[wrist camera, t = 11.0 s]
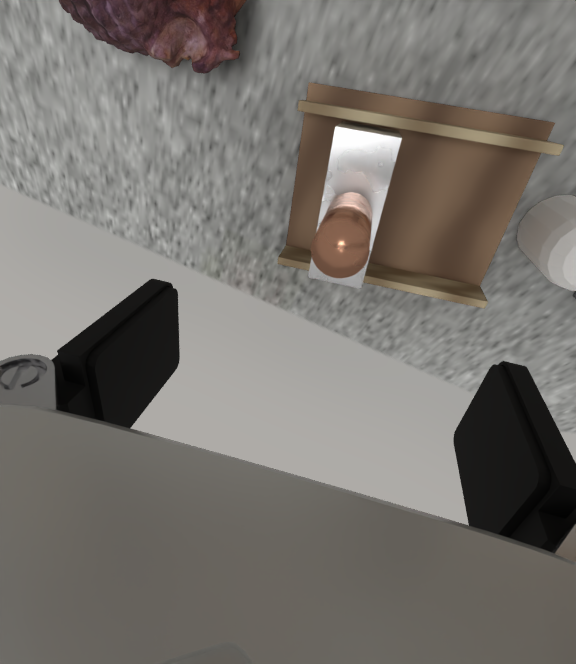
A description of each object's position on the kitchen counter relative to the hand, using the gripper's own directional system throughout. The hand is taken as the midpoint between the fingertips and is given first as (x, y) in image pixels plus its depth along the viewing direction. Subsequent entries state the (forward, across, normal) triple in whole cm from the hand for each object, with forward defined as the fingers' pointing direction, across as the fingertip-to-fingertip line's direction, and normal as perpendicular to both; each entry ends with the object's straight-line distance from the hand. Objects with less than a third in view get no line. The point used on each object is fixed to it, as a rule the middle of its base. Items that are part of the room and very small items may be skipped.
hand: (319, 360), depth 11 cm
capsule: (+25, -15, 0) cm, 29 cm away
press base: (+24, -3, 0) cm, 25 cm away
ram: (+23, +1, 0) cm, 23 cm away
